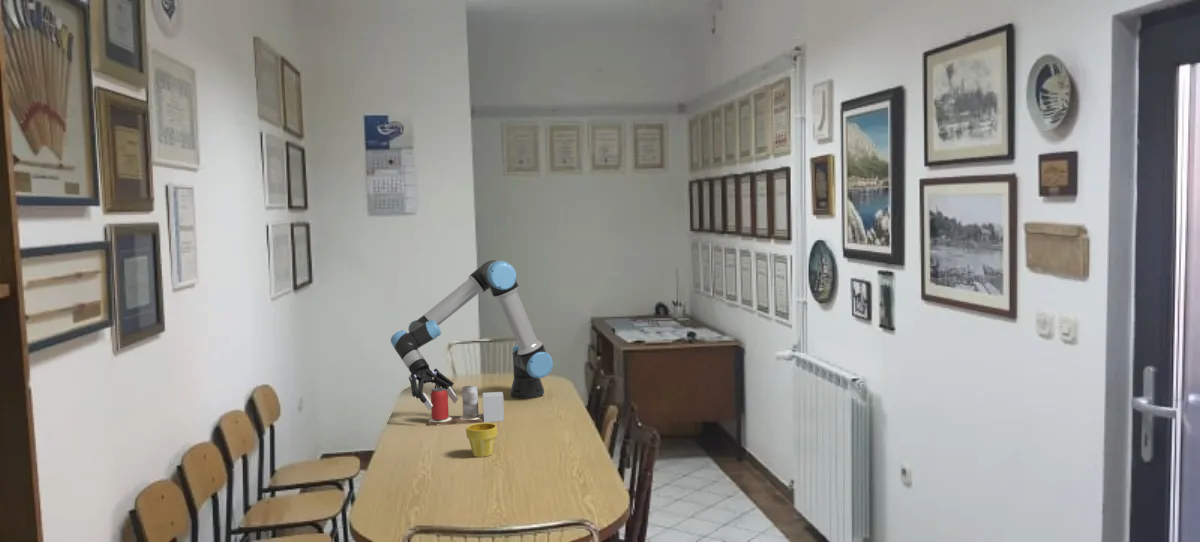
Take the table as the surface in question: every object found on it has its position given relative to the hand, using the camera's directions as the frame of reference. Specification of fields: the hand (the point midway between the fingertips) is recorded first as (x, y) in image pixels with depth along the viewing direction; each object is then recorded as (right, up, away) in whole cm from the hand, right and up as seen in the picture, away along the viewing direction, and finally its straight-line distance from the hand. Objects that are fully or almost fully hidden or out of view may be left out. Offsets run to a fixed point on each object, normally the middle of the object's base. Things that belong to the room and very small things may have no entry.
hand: (443, 404), depth 340 cm
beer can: (-2, -6, +2) cm, 7 cm away
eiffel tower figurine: (-13, -5, +55) cm, 57 cm away
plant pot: (+22, -10, -46) cm, 52 cm away
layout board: (+4, -7, +3) cm, 9 cm away
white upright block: (+19, -7, +5) cm, 21 cm away
